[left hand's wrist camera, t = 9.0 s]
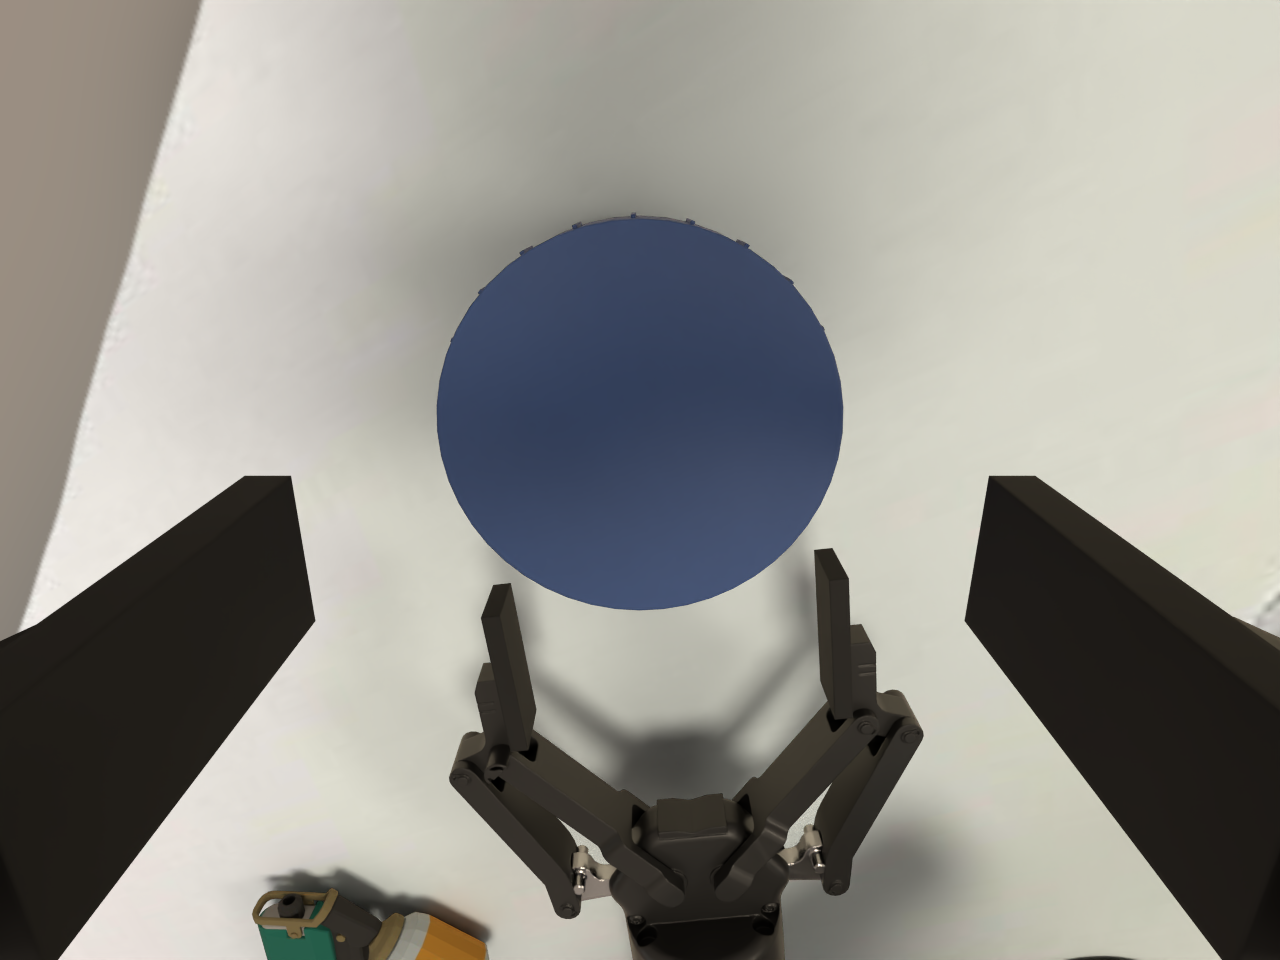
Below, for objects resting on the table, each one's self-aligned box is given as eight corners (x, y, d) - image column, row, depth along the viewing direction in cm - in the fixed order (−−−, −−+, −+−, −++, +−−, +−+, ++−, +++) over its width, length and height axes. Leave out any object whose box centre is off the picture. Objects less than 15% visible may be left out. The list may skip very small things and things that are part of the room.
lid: (641, 120, 19) (641, 110, 17) (901, 409, 22) (930, 433, 19) (379, 406, 22) (349, 430, 19) (640, 634, 24) (640, 678, 22)
